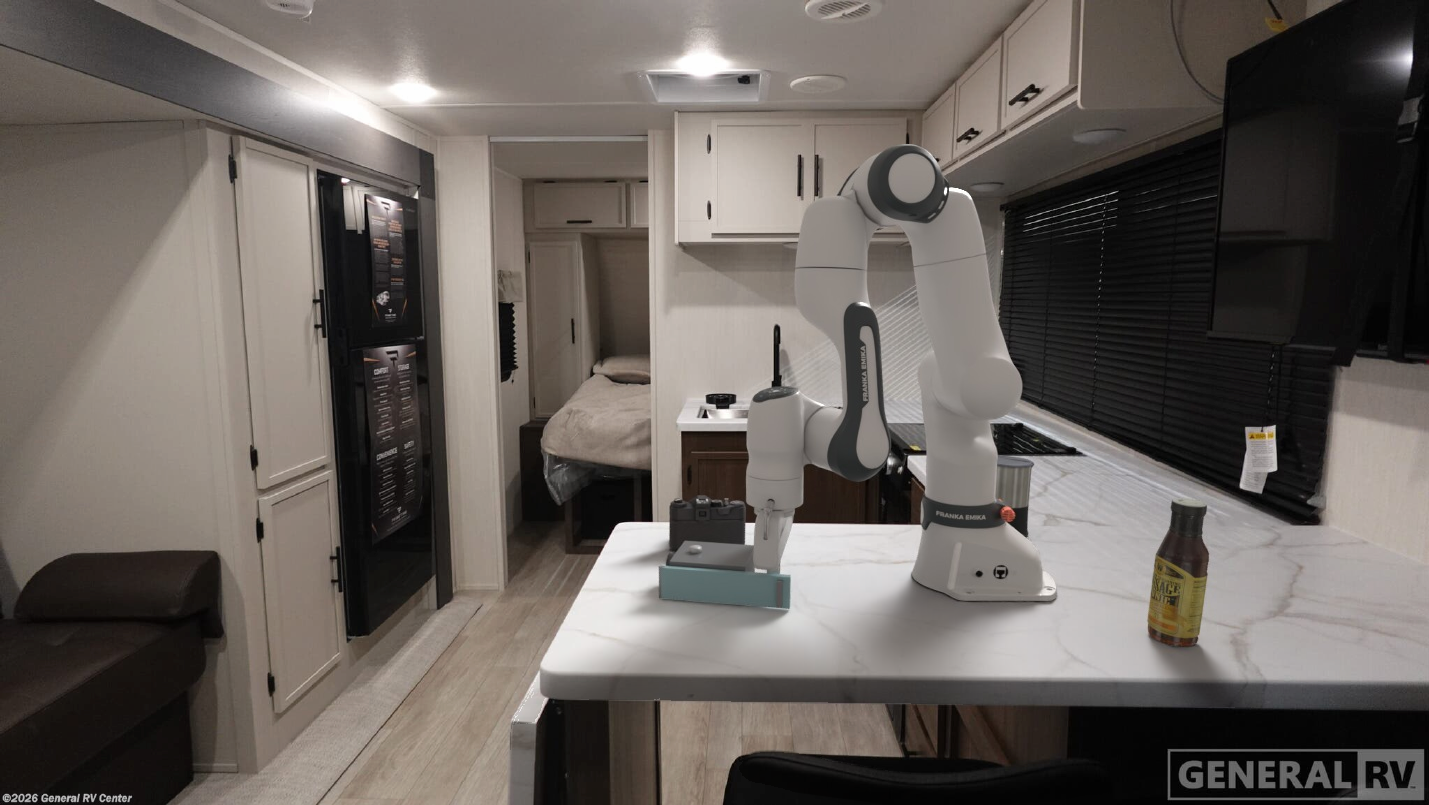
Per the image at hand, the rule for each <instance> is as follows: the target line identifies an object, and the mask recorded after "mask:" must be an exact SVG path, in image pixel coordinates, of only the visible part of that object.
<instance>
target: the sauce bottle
mask: <svg viewBox="0 0 1429 805" xmlns="http://www.w3.org/2000/svg"><path fill="white" fill-rule="evenodd" d="M1207 510H1208V505H1207V503H1206V502H1204V501H1201V500H1198V499H1194V498H1188V497H1177V498H1175V497H1174V498H1173V499H1172V500H1171V505H1170V511H1171V515H1170V521H1169V523H1170V524H1169V526H1168V530H1167V532H1166V534H1165V536H1164V537H1163V540H1161V541H1162V542H1161V543H1160V545H1159V547H1158V549H1157V551H1156V553H1155V555H1154V557H1155V558H1154V565H1153V572H1152V580H1151V581H1152V582H1151V587H1150V588H1151V589H1150V596H1149V605H1148V613H1147V620H1146V622H1147V633H1148V634H1149V636H1150V637H1151V638H1152V639H1154V640H1156V641H1158V642H1160V643H1163V644H1164V645H1166V646H1167V645H1168V646H1171V647H1180V648H1181V647H1182V648H1183V647H1184V648H1187V647H1193V646H1195V645H1196V644H1197V643H1198V641H1199V636H1200V632H1201V625H1202V618H1203V611H1204V603H1205V595H1206V588H1207V581H1208V576H1209V575H1208V574H1209V573H1208V567H1209V562H1210V553H1209V550H1208V549H1209V548H1208V547H1207V545H1206V544H1205V542H1204V539H1203V533H1204V532H1203V526H1204V519H1205V516H1206V515H1207Z"/></svg>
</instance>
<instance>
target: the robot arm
mask: <svg viewBox="0 0 1429 805" xmlns="http://www.w3.org/2000/svg"><path fill="white" fill-rule="evenodd" d="M838 191H839V192H838V193H837V194H836V195H827V196H823V197H820V198H818V199H816V200H814V201H812V202H811V203H810V204H809V205H808V206H807V207H806V209H805V211H804V212H803V217H802V222H801V226H800V230H799V235H798V241H797V247H796V256H795V267H794V268H795V270H794V280H793V281H794V284H793V286H794V288H793V290H794V298H795V303H796V308H797V309H798V311H799V312H800V314H801V315H802V317H803V318H804V319H805V320H806V321H807V322H808V323H809V324H811V325H812V326H813V327H815V328H816V329H818V330H819V331H820V332H822V333H823V334H824V335H826V337H827V338H828V339H829V340H830V341H831V342H832V343H833V345H834V347H835V348H836V350H837V353H838V356H839V362H840V372H841V373H840V375H841V376H840V377H841V378H840V379H841V394H842V395H841V396H842V397H841V398H842V409H840V408H836V407H835V406H830V405H826V404H823V403H821V402H818V401H815V400H814V399H812V398H810V397H808V396H806V395H805V394H803V392H801V390H800V389H799V388H797V387H795V386H790V385H784V386H771V387H768V388H765V389H762V390H760V391H757V393H755V394H754V395H753V396H752V398H751V400H750V404H749V408H748V412H747V421H746V422H747V424H746V449H747V452H748V453H747V454H748V463H747V466H746V474H745V475H746V476H745V487H746V488H745V490H746V491H745V492H746V493H745V494H746V495H745V502H746V504H747V505H749V506H751V507H753V513H754V514H755V515H756V518H755V521H754V522H755V523H754V532H753V545H754V552H753V563H754V567H755V570H756V569H757V570H760V571H761V570H762V571H766V573H772V574H781V562H782V557H783V554H784V551H785V548H786V545H787V542H788V540H789V536H790V534H791V531H792V526H793V522H794V515H795V511H796V510H795V509H796V508H799V507H801V506H802V505H803V504H804V467H805V466H807V465H814V466H816V467H818V468H822V469H824V470H828V471H830V472H833V473H834V474H836V475H839V476H840V477H842V478H844V479H846V480H849V481H850V482H858V483H859V482H864V481H867V480H869V479H871V478H872V477H874V476H875V475H877V474H878V473H879V472H880V471H881V470H882V469H883V467H884V466H885V465H886V464H887V461H888V460H889V457H890V454H891V451H892V450H891V448H892V437H891V433H890V428H889V425H888V420H887V416H886V410H885V398H884V380H883V378H884V377H883V362H882V359H883V358H882V345H881V344H882V343H881V334H880V327H879V322H878V318H877V315H876V314H875V311H874V310H873V309H872V306H871V304H870V303H871V302H870V298H869V294H868V293H869V292H868V283H867V282H868V280H867V279H868V250H869V248H870V243H871V240H872V237H873V235H874V234H875V233H876V232H877V231H880V230H882V229H886V228H887V229H888V228H892V227H897V226H898V227H899V228H901V230H903V233H904V234H905V235H906V237H907V239H908V243H909V245H910V246H911V258H912V266H913V273H914V281H915V287H916V295H917V301H918V302H917V303H918V308H919V309H918V310H919V314H920V319H921V320H922V321H923V324H924V326H925V328H926V331H927V333H928V338H929V340H930V343H931V345H932V350H930V351H928V353H926V354H925V355H924V356H923V358H922V359H921V361H920V362H919V365H918V368H917V376H916V377H917V382H918V385H919V388H920V389H919V390H920V396H921V397H920V398H921V408H922V409H921V410H922V420H923V425H924V434H925V446H926V457H925V458H926V460H925V462H926V464H925V485H924V486H925V487H924V489H925V490H924V491H925V492H923V494H922V497H921V498H922V500H921V502H920V526H921V536H920V542H919V546H918V547H919V548H918V551H917V557H916V560H915V563H914V565H913V568H912V571H911V576H912V578H913V579H914V580H915V581H916V582H918V583H919V584H920V585H922V586H925V587H927V588H929V589H932V590H935V591H937V592H941V593H944V594H946V595H948V596H949V597H951V598H953V599H955V600H958V601H965V602H966V601H967V602H968V601H971V602H973V601H975V602H976V601H978V602H980V601H983V602H985V601H986V602H987V601H989V602H995V601H997V602H999V601H1001V602H1006V601H1007V602H1009V601H1010V602H1013V601H1016V602H1024V601H1025V602H1035V601H1036V602H1042V601H1043V602H1049V601H1050V602H1051V601H1053V600H1054V599H1056V598H1057V595H1058V588H1057V584H1056V582H1055V580H1054V578H1053V577H1052V575H1050V574H1049V573H1048V572H1046V570H1044V569H1043V565H1042V560H1041V556H1040V553H1039V550H1038V549H1037V547H1036V546H1035V545H1034V543H1033V542H1032V541H1030V540H1029V539H1028V538H1027V536H1026V537H1024V536H1023V535H1022V534H1021V533H1019V532H1018V531H1017V530H1016V529H1015V528H1013V527H1012V526H1011V525H1010V524H1008V523H1007V522H1010V521H1013V520H1012V519H1015V515H1014V514H1015V513H1014V512H1013V510H1012V509H1011V508H1010V507H1008V506H1007V504H1005V503H1004V502H1002V501H1001V500H1000V499H997V498H995V495H996V477H997V459H998V456H999V453H998V449H997V446H996V444H995V442H994V438H993V434H992V433H993V432H992V428H991V422H990V421H992V420H997V419H1000V418H1003V417H1005V416H1007V415H1008V414H1010V413H1011V412H1012V411H1013V410H1014V409H1015V408H1016V406H1017V405H1018V403H1019V401H1020V399H1021V397H1022V393H1023V380H1022V377H1021V374H1020V371H1019V370H1018V369H1017V367H1016V366H1015V365H1014V363H1013V361H1012V359H1011V356H1010V354H1009V350H1008V346H1007V344H1006V340H1005V338H1004V337H1005V336H1004V334H1003V331H1002V328H1001V326H1000V323H999V320H998V317H997V313H996V310H995V306H994V301H993V295H992V294H993V293H992V289H991V281H990V273H989V266H988V265H989V264H988V258H987V254H986V253H987V251H986V250H987V249H986V244H985V238H984V235H983V229H982V226H981V222H980V218H979V217H980V216H979V214H978V211H977V208H976V205H975V203H974V200H973V198H972V197H971V195H970V194H969V193H968V192H967V191H965V190H962V189H959V188H955V187H950V183H949V181H948V179H947V178H946V177H945V175H944V174H943V172H942V170H941V167H940V165H939V163H938V162H937V160H936V158H935V157H934V156H933V155H932V154H931V153H930V152H929V151H928V150H927V149H925V148H923V147H921V146H918V145H915V144H910V143H909V144H908V143H906V144H897V145H893V146H890V147H888V148H886V149H884V150H883V151H880V152H878V153H875V154H874V155H872V156H870V157H869V158H867V159H866V160H865V161H864V162H863V163H862V164H861V165H860V166H859V167H857V168H855V169H854V170H853V171H852V172H851V173H850V174H849V175H848V177H847V178H846V180H845V181H844V183H843V184H842V187H841V188H840V189H839V190H838ZM1006 521H1007V522H1006Z"/></svg>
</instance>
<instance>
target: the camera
mask: <svg viewBox="0 0 1429 805" xmlns="http://www.w3.org/2000/svg"><path fill="white" fill-rule="evenodd" d="M729 499H730V498H727V497H725V498H724V502H723V500H721V499H711V498H710V497H709V496H707V495H705V494H704V495H701V494H700V495H696V496H694V497H693V498H691V499H690V500H688V501H685V500H684V499H683V498H680V497H679V498H678V497H677V498H674V500H671V502H670V505H669V506H668V507H669V513H668V514H669V526H668V527H669V528H668V529H669V531H668V532H669V533H668V536H669V538H668V540H669V542H668V544H669V551H670V552H677V551H678V549H679V548H680V547H681V545H682V544H683V542H684V541H697V542H712V543H727V544H742V545H746V517H747V516H746V513H747V511H746V510H747V509H746V503H745V502H744V501H742V500H730V501H729Z"/></svg>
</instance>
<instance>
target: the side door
mask: <svg viewBox="0 0 1429 805" xmlns="http://www.w3.org/2000/svg"><path fill="white" fill-rule="evenodd" d="M791 577H792V576H791V574H782V573H780V574H772V573H767V572H756V571H755V572H745V571H731V570H718V569H704V568H691V567H677V566H666V565H661V564H660V565H659V566H658V599H666V600H676V601H687V602H688V601H689V602H698V603H699V602H702V603H711V604H712V603H713V604H726V605H738V606H747V607H749V606H750V607H761V608H771V609H772V608H775V609H783V610H790V609H791V581H792V580H791V579H792V578H791Z"/></svg>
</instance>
